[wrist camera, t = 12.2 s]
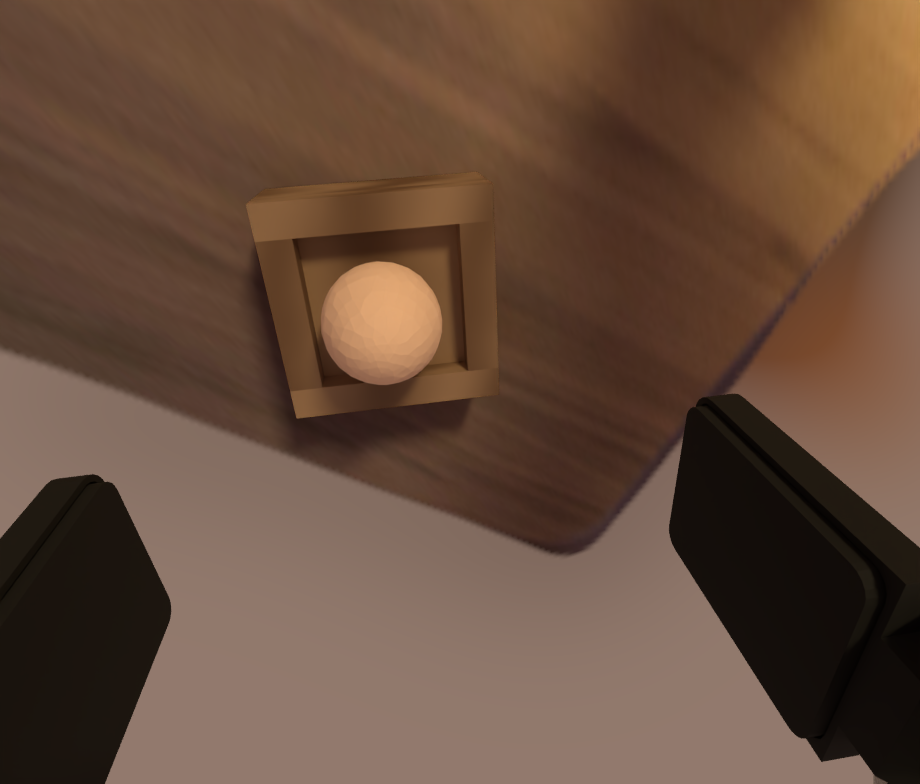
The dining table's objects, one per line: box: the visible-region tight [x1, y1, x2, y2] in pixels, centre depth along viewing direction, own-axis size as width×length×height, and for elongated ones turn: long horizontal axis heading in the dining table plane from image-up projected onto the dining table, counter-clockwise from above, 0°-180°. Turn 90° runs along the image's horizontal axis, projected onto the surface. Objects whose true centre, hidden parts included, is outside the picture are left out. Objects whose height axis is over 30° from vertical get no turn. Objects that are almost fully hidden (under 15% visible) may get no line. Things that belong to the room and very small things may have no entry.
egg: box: [321, 261, 442, 385], centre depth 23 cm, size 5×5×6 cm
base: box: [246, 172, 499, 418], centre depth 26 cm, size 10×10×4 cm
